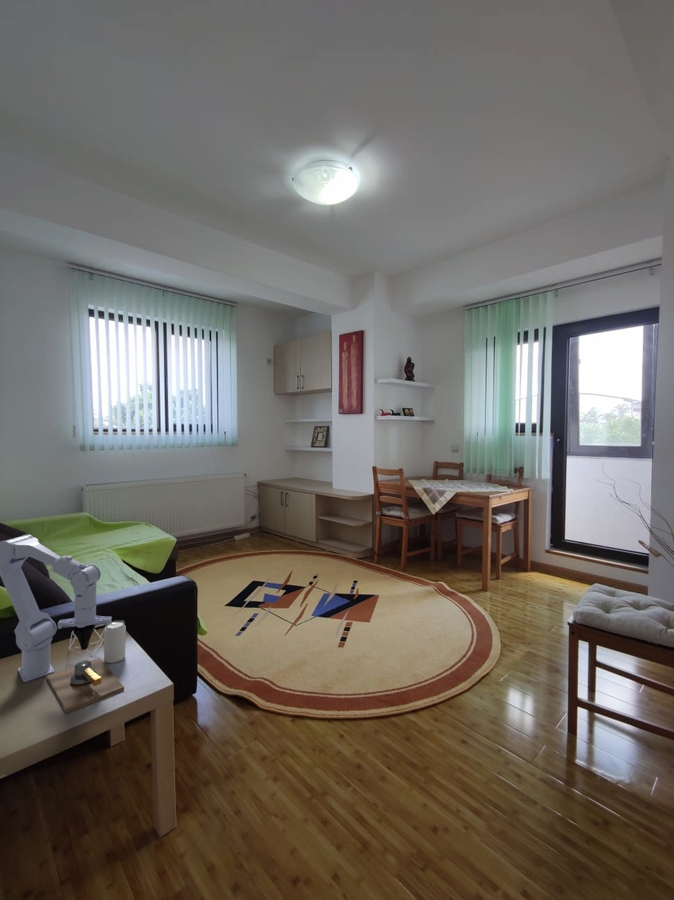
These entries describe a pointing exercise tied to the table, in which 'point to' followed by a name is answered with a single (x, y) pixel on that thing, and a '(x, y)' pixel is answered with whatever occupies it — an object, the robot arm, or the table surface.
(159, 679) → the table surface
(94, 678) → the lever door handle
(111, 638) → the can
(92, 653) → the geometric polyhedron
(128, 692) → the table surface
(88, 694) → the stand
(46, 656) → the robot arm
